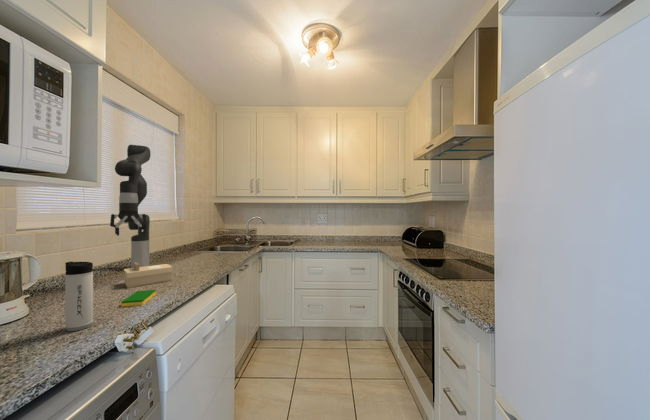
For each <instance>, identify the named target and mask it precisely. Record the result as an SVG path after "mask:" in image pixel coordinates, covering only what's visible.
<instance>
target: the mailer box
mask: <svg viewBox="0 0 650 420" xmlns="http://www.w3.org/2000/svg"><path fill="white" fill-rule="evenodd" d="M172 274H173V273H172V272H167V273H160V274H154V275H147V276H140V277H133V278H127V274H126V273H125V274H124V285H125V286H126V287H127V289H131V288H137V287H142V286H148V285H149V286H150V285H154V284H155V285H156V284H160V283H167V282H171V281H172V280H173V279H172V276H173V275H172Z"/></svg>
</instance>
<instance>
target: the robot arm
mask: <svg viewBox="0 0 650 420" xmlns="http://www.w3.org/2000/svg"><path fill="white" fill-rule="evenodd" d="M126 152H127V153H126V154H127V157H126V159H122V160H119V161H118V162H117V163H116V164H115V167H114V171H115V173H116V174H117V175H118V176H120V177H128V180H122V181H121V182H119V195H118V201H119V202H118V214H114V213H111V214H110V220H109V221H110V224H109V226H110V227H112V228H114V233H115V235H116V236H118V237H119V236H120V226H121V225H122V224H123V223H125V224H127V226H128V229H129V230H132V231H137V234H136V235H132V236H131V237H130V240H131V241H130V242H131V244H130V245H131V248H130V251H131V252H130V253H131V254H130V255H131V256H130V257H131V258H130V259H131V261H130V265H131V266H130V268H134V262H137V263H138V264H139V267H145V266H150V221H151V220H150V216H149V215H148V214H146V213H141V214H139V205H140V204H142V202H143V201H144V199H145V198H146V197H147V193H148V183H147V181H146V179H145V178H144V177H143V175H142V171H143V170H142V165H144V164H146V163H147V162H149V161H150V159H151V149H150V148H149V147H148V146H146V145H139V144H138V145H137V144H128V146H127V150H126ZM117 218H119V220H118V222H117V223H116V224H115V219H117Z"/></svg>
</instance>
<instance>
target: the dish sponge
mask: <svg viewBox="0 0 650 420" xmlns="http://www.w3.org/2000/svg"><path fill="white" fill-rule="evenodd" d="M156 295H157V290H156V289H148V290H147V289H146V290H145V289H144V290H137V291H135V292H134V293H132V294H131V295H129V296H128V297H126V298H125V299H123V300H122V301H121V308H124V307H126V308H128V307H138V305H140V306H144V305H145V304H146V303H147V302H148V300H149V301H150V300H151V299H152V298H154V297H155V296H156ZM143 304H144V305H143Z"/></svg>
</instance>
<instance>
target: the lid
mask: <svg viewBox="0 0 650 420" xmlns="http://www.w3.org/2000/svg"><path fill="white" fill-rule="evenodd" d="M167 272H174V270H173V266H171V265H170V264H168V263H164V264H163V263H162V264H156V265H149V266H145V267H139V264H138V263H137V262H134V268H131V267H130V268H129V267H128V268H124V269H123V275H125V273H126V274H127V278H133V277H140V276H147V275H154V274H160V273H167Z"/></svg>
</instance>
